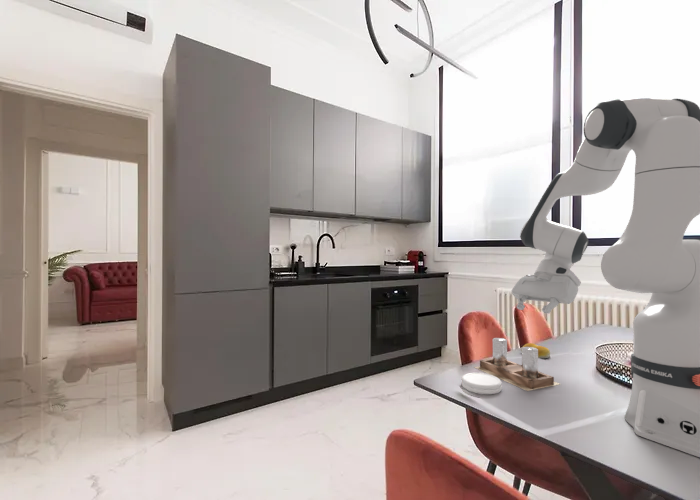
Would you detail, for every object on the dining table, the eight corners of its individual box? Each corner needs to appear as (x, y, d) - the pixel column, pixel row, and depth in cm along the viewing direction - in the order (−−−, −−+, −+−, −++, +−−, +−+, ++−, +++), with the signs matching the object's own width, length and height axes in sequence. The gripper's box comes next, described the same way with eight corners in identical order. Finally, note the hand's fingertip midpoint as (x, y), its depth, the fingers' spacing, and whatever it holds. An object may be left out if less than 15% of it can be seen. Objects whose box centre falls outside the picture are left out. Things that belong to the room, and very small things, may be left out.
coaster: (506, 401, 87) (505, 386, 87) (464, 398, 89) (463, 384, 89) (497, 385, 97) (497, 373, 97) (459, 383, 99) (459, 371, 99)
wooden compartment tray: (560, 387, 95) (560, 376, 95) (527, 394, 90) (527, 383, 90) (503, 365, 113) (503, 356, 113) (473, 370, 109) (473, 360, 109)
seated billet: (541, 382, 95) (541, 349, 95) (530, 385, 94) (530, 351, 94) (529, 378, 99) (529, 346, 99) (518, 380, 98) (518, 347, 98)
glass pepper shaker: (510, 370, 106) (510, 340, 106) (500, 372, 104) (499, 341, 104) (500, 366, 109) (499, 337, 109) (490, 367, 108) (489, 338, 108)
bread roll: (542, 360, 118) (542, 349, 118) (517, 354, 126) (517, 343, 126) (555, 356, 123) (555, 345, 123) (530, 350, 130) (530, 339, 130)
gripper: (518, 269, 123) (500, 301, 119) (575, 269, 104) (555, 307, 100) (528, 280, 125) (511, 312, 121) (586, 282, 106) (568, 320, 102)
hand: (531, 310), depth 110 cm, fingers open, 8 cm apart
